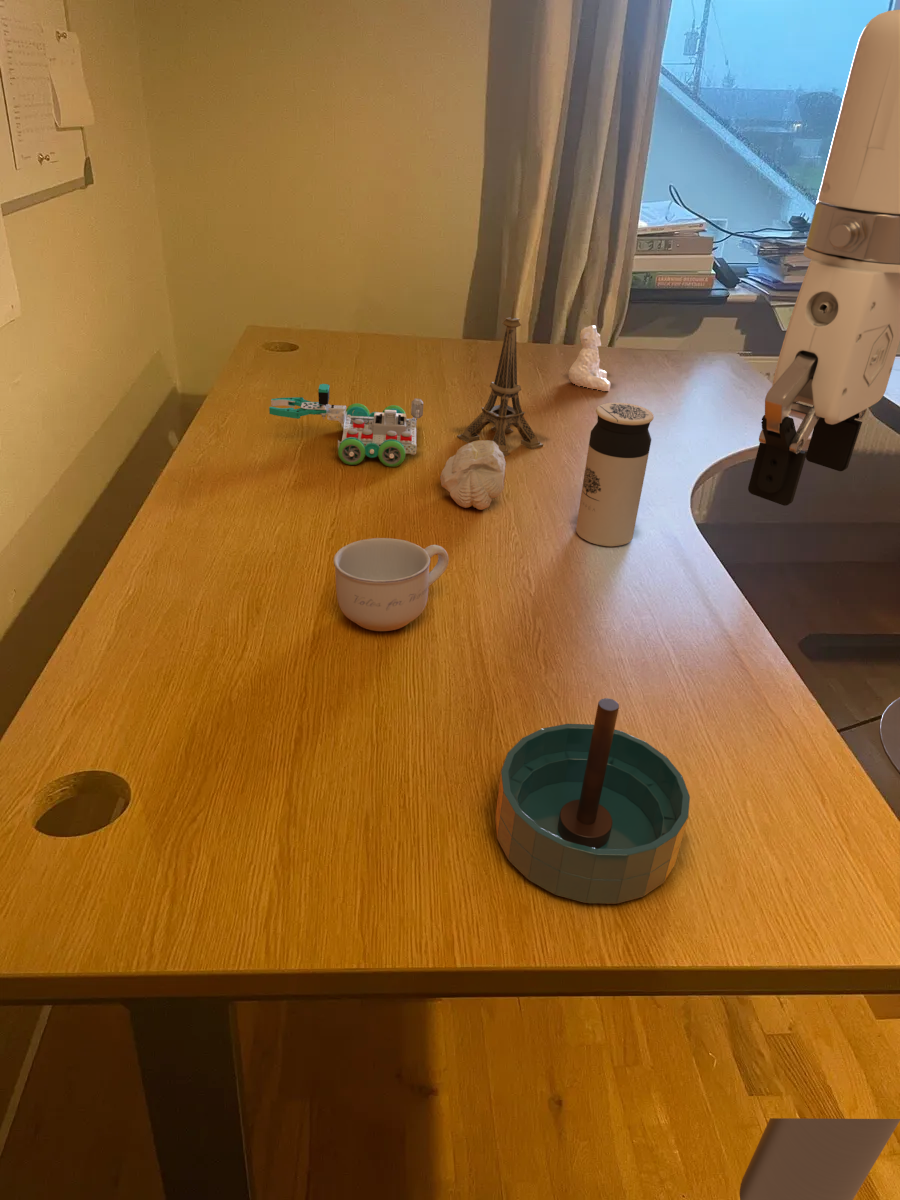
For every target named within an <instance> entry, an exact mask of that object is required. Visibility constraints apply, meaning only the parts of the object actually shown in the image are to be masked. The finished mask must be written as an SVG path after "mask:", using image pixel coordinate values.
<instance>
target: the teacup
mask: <svg viewBox="0 0 900 1200" xmlns="http://www.w3.org/2000/svg"><path fill="white" fill-rule="evenodd" d="M435 555H437V557H438V558H437V562H436V564H435V566H433V568H432V569H431V570H430V565H431V559H432V557H434V556H435ZM333 566H334V570H335V571H334V572H335V575H334V576H335V591H336V599H337V604H338V607H339V609H340V610H341V612H342V614H343V615H344V616H345V617H346V618H347V619H349V620H350V621H351V622H353V623H355V624H356V625H358V626H359V627H361V628H363V629H366V630H369V631H372V632H373V631H374V632H390V631H396V630H399V629H402V628H404V627H405V626H407V625H409V624H410V623H411V622H413V621H415V620H416V619H417V618H418V617H419V616H420V615H421V614H422V613H423V612H424V610H425V608H426V607H427V603H428V597H429V588H430V586H431V585H433V584H434V583H435V582H436V581H437V580H439V578H440V577H442V575H443V574H444V573H445V572H446V570H447V568H448V566H449V553H448V552H447V551H446V549H445V548H444V547H443V546H441V545H439V544H430V545H428V546H426V547H425V548H423V547H421V546H420V545H418V544H416V543H414V542H411V541H408V540H405V539H400V538H391V537H390V538H389V537H374V538H366V539H360V540H357V541H353V542H351V543H349V544H346V545H344V546H343V547H341V548H339V550H337V552H336V553H335V554H334V556H333Z"/></svg>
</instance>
